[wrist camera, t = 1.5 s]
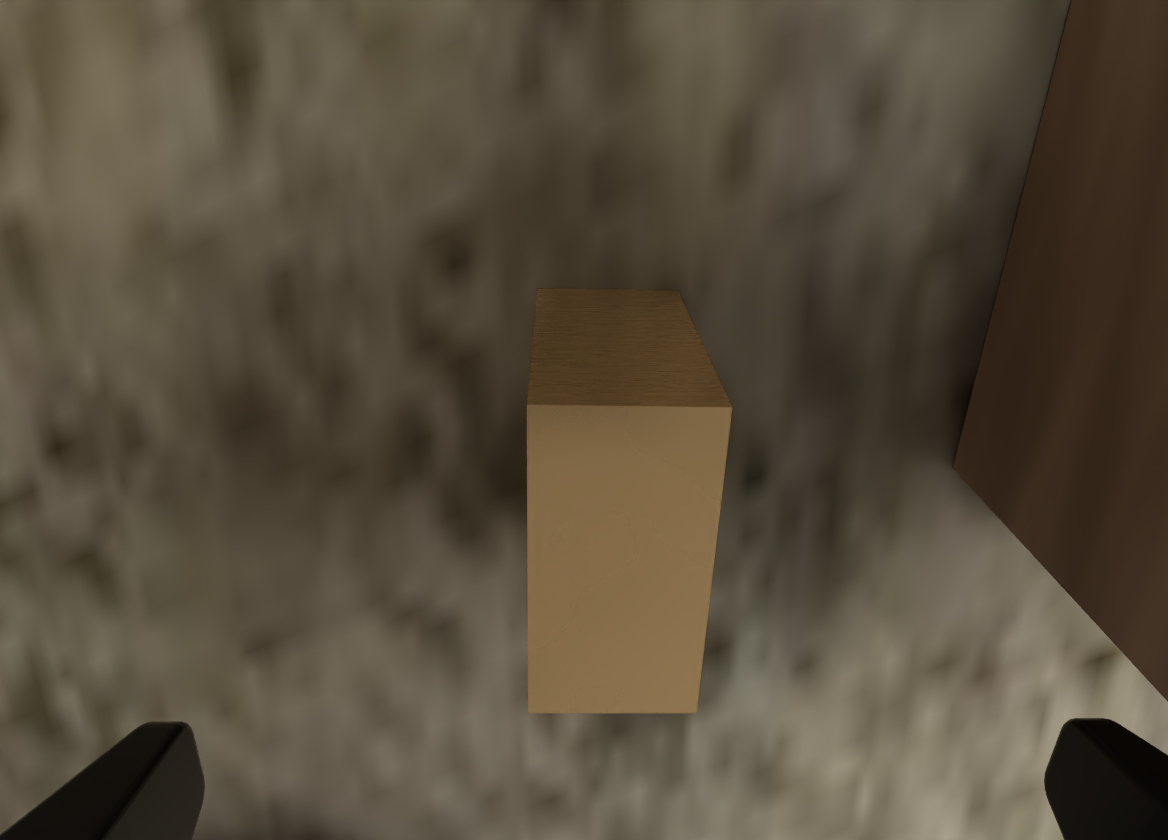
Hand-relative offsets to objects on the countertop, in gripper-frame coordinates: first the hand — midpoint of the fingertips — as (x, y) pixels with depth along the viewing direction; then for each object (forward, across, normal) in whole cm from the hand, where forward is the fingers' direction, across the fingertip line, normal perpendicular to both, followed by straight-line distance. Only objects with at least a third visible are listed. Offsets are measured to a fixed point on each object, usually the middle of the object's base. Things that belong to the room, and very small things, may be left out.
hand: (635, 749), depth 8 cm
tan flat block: (+8, 0, 0) cm, 8 cm away
